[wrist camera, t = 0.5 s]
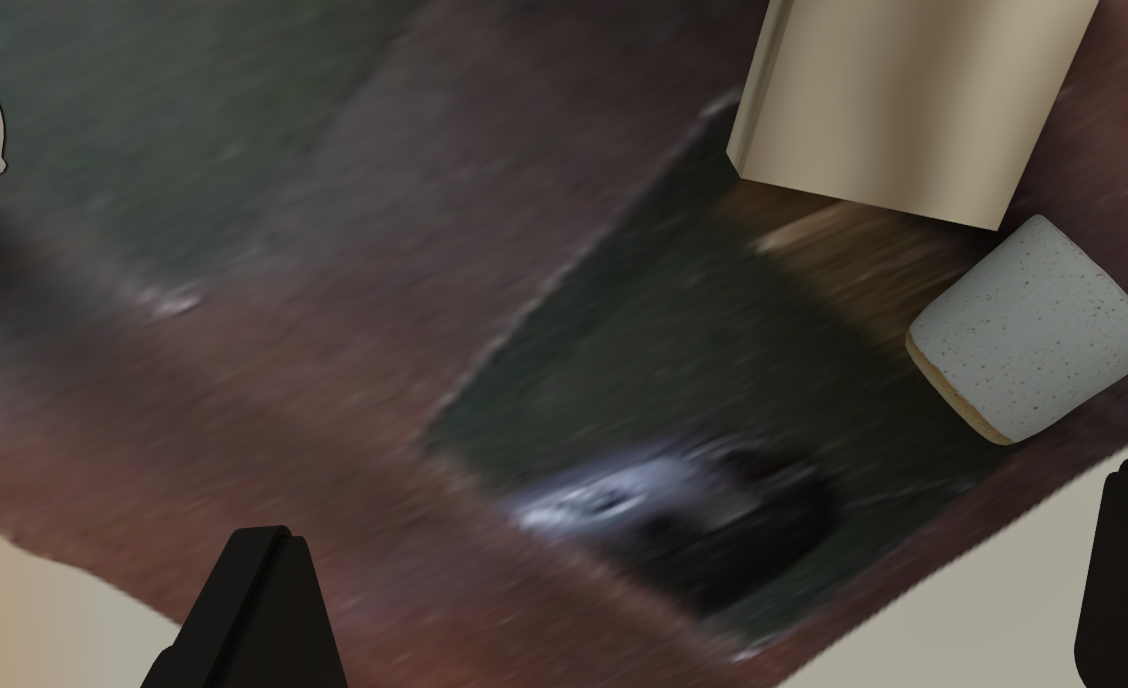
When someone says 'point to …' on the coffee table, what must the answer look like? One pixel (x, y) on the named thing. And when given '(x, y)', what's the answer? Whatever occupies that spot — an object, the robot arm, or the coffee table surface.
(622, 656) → the coffee table surface
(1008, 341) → the ceramic mug
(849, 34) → the birch block
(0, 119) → the beige boot
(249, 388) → the coffee table surface
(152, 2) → the coffee table surface
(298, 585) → the robot arm
